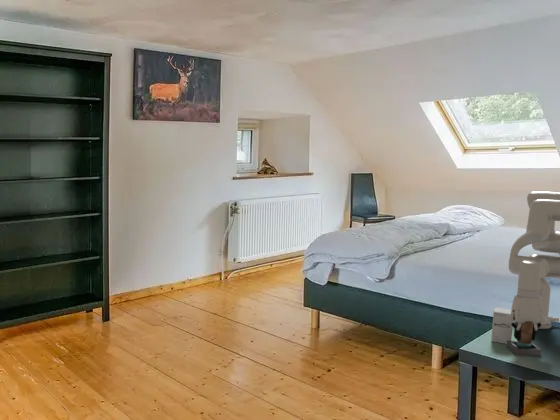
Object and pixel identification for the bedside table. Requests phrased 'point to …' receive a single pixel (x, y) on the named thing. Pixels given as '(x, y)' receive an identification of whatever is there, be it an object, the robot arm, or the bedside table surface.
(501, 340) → the supplement box
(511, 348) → the socket
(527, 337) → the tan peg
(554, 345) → the bedside table surface
